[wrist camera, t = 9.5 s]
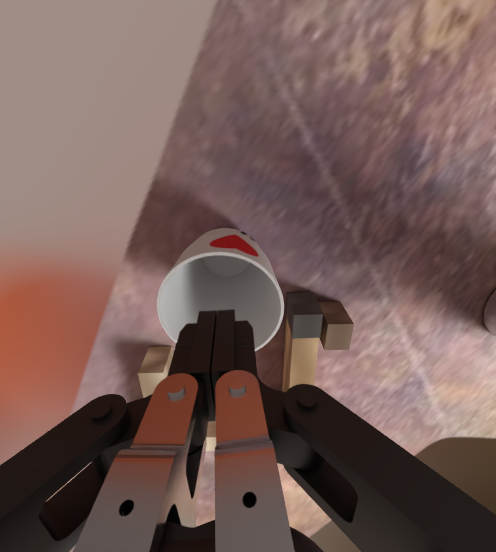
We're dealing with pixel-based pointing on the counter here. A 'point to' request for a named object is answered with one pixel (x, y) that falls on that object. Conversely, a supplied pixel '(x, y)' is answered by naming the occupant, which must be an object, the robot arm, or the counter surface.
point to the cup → (222, 285)
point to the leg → (301, 339)
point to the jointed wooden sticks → (156, 369)
